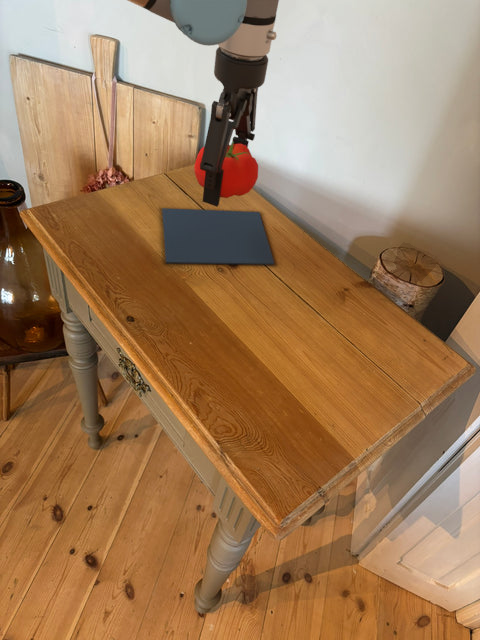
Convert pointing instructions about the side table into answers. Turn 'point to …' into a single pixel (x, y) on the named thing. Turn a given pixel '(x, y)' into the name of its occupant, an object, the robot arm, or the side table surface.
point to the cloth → (215, 237)
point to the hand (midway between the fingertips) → (223, 187)
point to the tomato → (233, 171)
